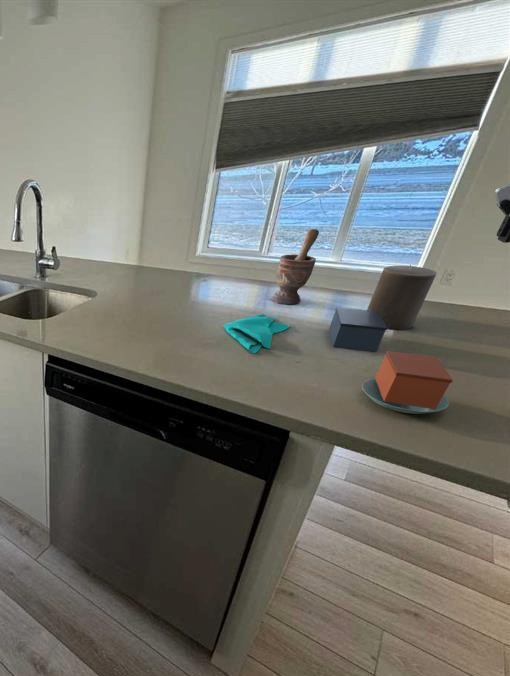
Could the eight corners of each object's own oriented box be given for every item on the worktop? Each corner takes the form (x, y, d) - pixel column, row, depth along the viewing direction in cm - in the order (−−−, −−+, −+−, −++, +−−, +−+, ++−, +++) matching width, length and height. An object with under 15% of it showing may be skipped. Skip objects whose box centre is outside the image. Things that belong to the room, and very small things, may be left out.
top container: (422, 385, 76) (437, 356, 73) (436, 410, 69) (453, 380, 66) (374, 378, 79) (386, 350, 76) (383, 401, 73) (396, 372, 70)
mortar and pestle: (270, 292, 131) (287, 227, 121) (302, 294, 127) (323, 228, 117) (268, 303, 123) (286, 235, 113) (302, 306, 119) (324, 236, 109)
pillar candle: (374, 329, 102) (398, 270, 95) (356, 315, 110) (377, 260, 103) (421, 330, 100) (450, 269, 92) (399, 316, 108) (424, 259, 100)
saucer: (406, 427, 70) (411, 416, 68) (342, 393, 80) (346, 383, 78) (461, 414, 71) (467, 403, 70) (391, 383, 81) (396, 373, 80)
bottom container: (368, 333, 100) (378, 311, 97) (376, 352, 92) (387, 328, 89) (328, 329, 104) (335, 307, 101) (332, 347, 96) (340, 323, 93)
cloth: (243, 312, 119) (244, 305, 117) (297, 322, 110) (299, 314, 108) (203, 341, 104) (204, 333, 103) (262, 356, 95) (264, 347, 94)
